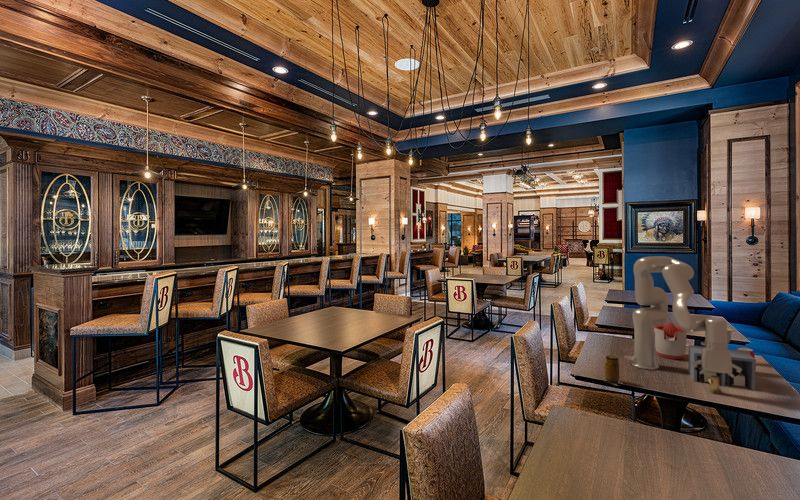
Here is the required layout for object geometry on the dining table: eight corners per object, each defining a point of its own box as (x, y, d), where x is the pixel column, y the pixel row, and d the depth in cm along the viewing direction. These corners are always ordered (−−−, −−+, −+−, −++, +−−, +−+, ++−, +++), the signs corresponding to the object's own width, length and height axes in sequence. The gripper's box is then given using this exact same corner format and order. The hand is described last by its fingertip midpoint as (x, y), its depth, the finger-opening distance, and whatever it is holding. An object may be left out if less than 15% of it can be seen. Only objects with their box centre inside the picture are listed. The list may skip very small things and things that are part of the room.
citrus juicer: (653, 358, 213) (653, 324, 213) (653, 350, 228) (654, 318, 227) (687, 363, 205) (688, 327, 204) (685, 355, 219) (686, 321, 218)
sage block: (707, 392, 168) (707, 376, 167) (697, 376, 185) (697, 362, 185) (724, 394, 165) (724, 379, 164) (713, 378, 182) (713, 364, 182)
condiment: (611, 377, 187) (611, 353, 186) (626, 383, 179) (626, 359, 178) (600, 379, 184) (600, 355, 184) (615, 386, 176) (615, 361, 176)
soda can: (758, 375, 187) (758, 351, 186) (741, 374, 188) (742, 350, 188) (747, 370, 194) (748, 347, 193) (732, 369, 195) (732, 346, 195)
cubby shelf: (693, 381, 180) (694, 352, 179) (688, 372, 192) (688, 345, 191) (755, 390, 169) (755, 359, 168) (745, 379, 181) (746, 351, 181)
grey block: (728, 385, 176) (728, 374, 176) (724, 380, 181) (724, 370, 181) (744, 387, 173) (745, 376, 173) (740, 382, 178) (741, 372, 178)
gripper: (693, 345, 167) (693, 383, 168) (744, 350, 159) (744, 390, 159) (690, 341, 174) (690, 378, 174) (738, 346, 165) (739, 384, 166)
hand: (716, 383), depth 167 cm, fingers open, 9 cm apart
